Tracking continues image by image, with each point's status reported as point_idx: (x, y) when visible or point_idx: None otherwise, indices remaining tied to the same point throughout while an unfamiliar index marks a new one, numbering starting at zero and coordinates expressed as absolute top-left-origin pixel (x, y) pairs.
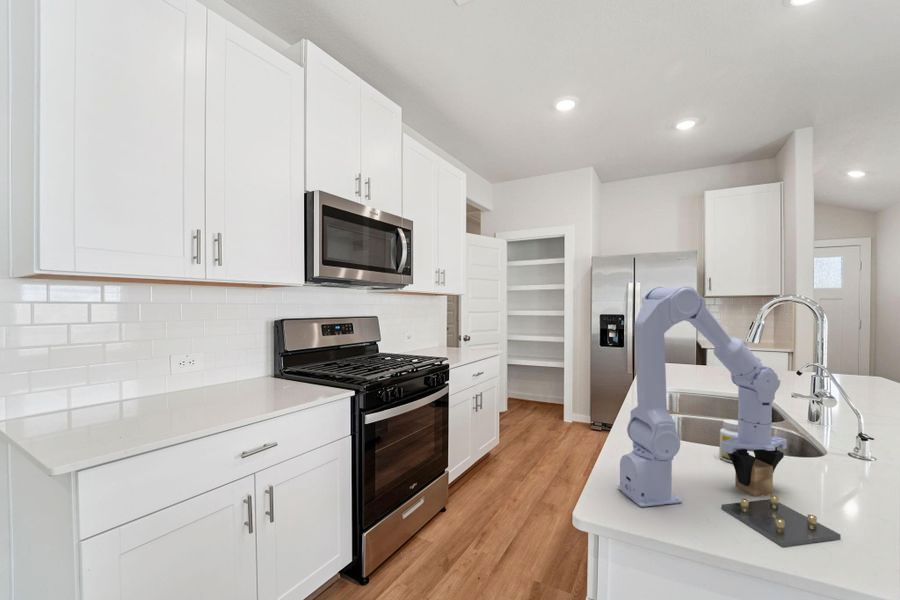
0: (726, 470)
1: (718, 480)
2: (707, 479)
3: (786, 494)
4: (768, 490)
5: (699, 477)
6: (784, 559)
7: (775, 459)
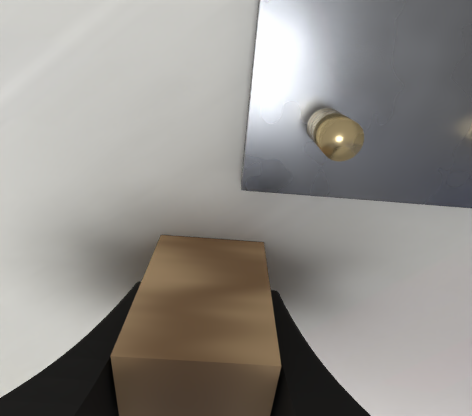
0: None
1: None
2: None
3: (90, 220)
4: (180, 249)
5: None
6: None
7: (62, 411)
